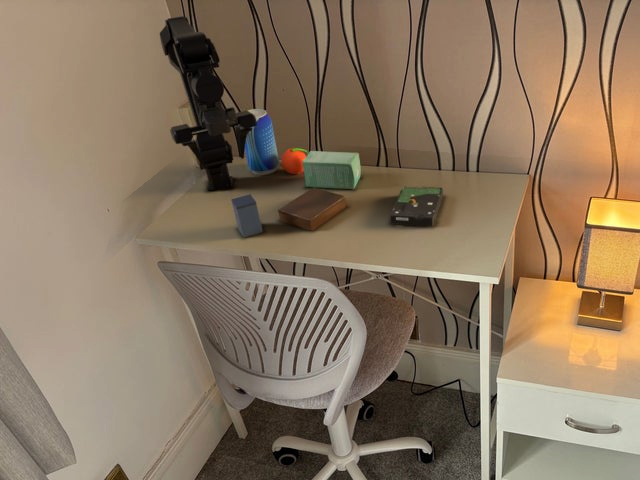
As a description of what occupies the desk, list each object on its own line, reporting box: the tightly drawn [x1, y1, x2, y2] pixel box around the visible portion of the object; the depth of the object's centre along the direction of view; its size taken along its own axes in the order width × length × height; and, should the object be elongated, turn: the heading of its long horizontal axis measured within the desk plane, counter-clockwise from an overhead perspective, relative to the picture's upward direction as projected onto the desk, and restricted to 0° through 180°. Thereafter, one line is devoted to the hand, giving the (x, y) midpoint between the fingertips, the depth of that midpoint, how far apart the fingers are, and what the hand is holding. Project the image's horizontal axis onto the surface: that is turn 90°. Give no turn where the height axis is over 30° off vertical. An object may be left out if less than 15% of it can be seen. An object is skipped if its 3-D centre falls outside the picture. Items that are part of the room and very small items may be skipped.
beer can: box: [244, 108, 280, 176], centre depth 168 cm, size 8×8×16 cm
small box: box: [230, 194, 263, 239], centre depth 144 cm, size 5×5×8 cm
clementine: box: [281, 147, 309, 175], centre depth 168 cm, size 8×7×7 cm
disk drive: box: [389, 185, 444, 227], centre depth 149 cm, size 10×3×15 cm
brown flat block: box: [277, 187, 347, 232], centre depth 150 cm, size 10×13×3 cm
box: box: [302, 150, 362, 190], centre depth 162 cm, size 7×14×8 cm, turn 79°
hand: (223, 163), depth 146 cm, fingers open, 9 cm apart
